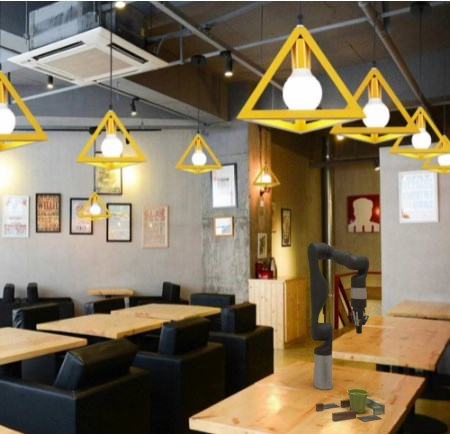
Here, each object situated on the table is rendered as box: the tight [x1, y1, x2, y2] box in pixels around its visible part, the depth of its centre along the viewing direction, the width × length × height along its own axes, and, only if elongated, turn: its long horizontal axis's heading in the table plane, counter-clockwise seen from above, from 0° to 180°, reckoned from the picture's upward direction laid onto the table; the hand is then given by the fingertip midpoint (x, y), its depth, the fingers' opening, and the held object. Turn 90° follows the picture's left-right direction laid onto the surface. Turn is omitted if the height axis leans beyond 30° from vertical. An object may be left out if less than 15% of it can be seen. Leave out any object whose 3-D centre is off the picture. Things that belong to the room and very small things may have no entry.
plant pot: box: [346, 388, 369, 414], centre depth 234 cm, size 9×9×9 cm
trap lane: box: [315, 396, 386, 423], centre depth 233 cm, size 25×26×4 cm
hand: (359, 333), depth 249 cm, fingers closed
